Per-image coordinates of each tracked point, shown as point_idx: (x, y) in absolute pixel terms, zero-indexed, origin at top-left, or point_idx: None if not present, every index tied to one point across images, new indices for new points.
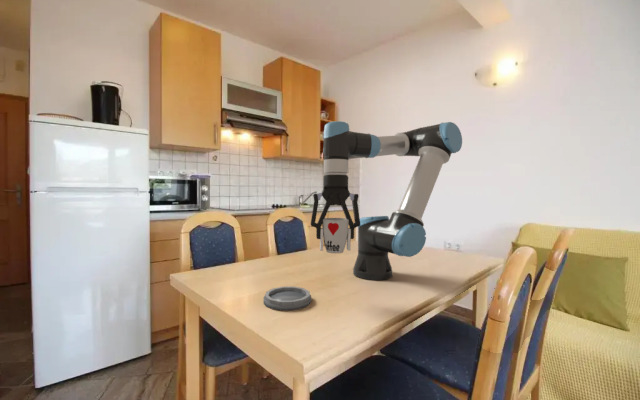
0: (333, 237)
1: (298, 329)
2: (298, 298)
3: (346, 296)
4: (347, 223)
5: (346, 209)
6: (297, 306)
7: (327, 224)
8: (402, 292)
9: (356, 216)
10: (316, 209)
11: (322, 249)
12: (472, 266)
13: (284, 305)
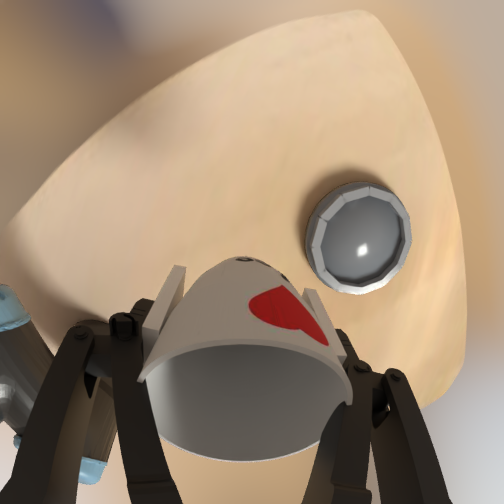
0: (277, 280)
1: (368, 90)
2: (342, 225)
3: (206, 235)
4: (157, 345)
5: (136, 461)
6: (354, 183)
7: (332, 347)
8: (69, 234)
9: (67, 380)
10: (417, 455)
11: (308, 290)
12: None
13: (382, 190)
